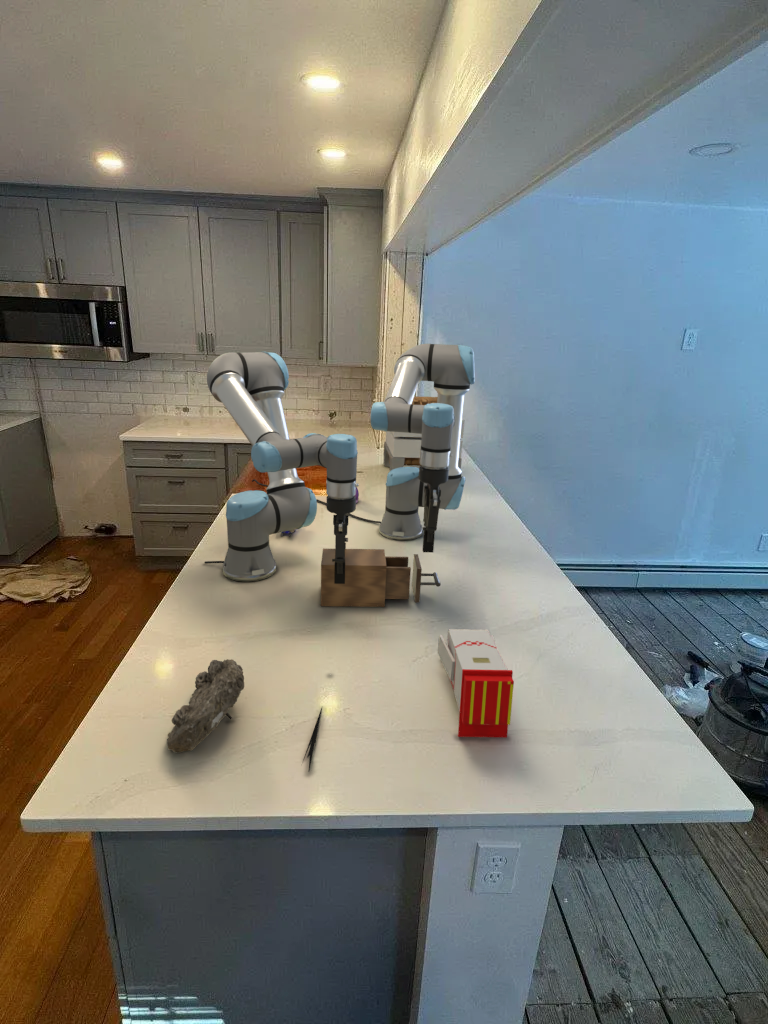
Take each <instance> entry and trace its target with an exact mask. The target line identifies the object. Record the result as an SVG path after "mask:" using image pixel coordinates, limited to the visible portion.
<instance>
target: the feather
mask: <svg viewBox="0 0 768 1024" xmlns="http://www.w3.org/2000/svg"><path fill="white" fill-rule="evenodd" d="M329 675H330V676H331V675H332V674H331V673H330V674H329ZM322 710H323V707H321V708H320V710H319V713H318V716H317V719H316V723H315V725H314V728H313V731H312V733H311V737H310V739H309V742H308V745H307V748H306V751H305V754H304V757H303V760H302V763H301V767H302V765H303V763H304V761H305V758H308V759H309V760H308V762H307V763H308V764H307V766H308V771H310V770H311V766H312V765H311V764H312V760H313V757H315V756H314V755H315V751H316V749H315V746H317V739H318V733H319V729H320V722H321V717H322V712H323V711H322ZM313 754H314V755H313ZM306 755H307V757H306Z"/></svg>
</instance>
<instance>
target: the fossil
mask: <svg viewBox="0 0 768 1024" xmlns="http://www.w3.org/2000/svg"><path fill="white" fill-rule="evenodd" d="M243 670H244V669H243V667H242V665H240V664H237V662H236V661H235V660H234V659H232V658H231V659H227V658H226V659H224V660H223V661H222V660H217V659H212V660H211V661H210V663H209V665H208V666H207V671H201V672H199V673H198V674H197V675H196V676H195V680H194V684H195V685H194V687H195V689H194V690H193V693H192V694H191V697H190V698H189V700H188V704H184V705H182V706H181V707H180V709H177V710H176V711H175V713H174V715H173V716H172V718H171V723H172V724H173V727H172V730H171V731H170V732H168V734H167V738H166V741H167V742H166V745H167V749H168V750H169V751H173V752H174V753H176V754H178V753H182V752H188V751H189V752H192V751H193V750H195V748H196V747H197V746H199V744H200V743H201V742H203V741H204V740H205V739H206V738H207V737H208V736H209V735H210V734H211V733H212V732H214V730H215V729H217V727H218V726H219V724H220V722H221V721H222V720H223V719H224V718H225V716H226V717H227V719H229V720H233V717H232V715H230V714H229V710H230V709H231V708H234V706H235V704H236V703H237V702H238V699H239V697H240V695H241V693H242V691H243V690H245V689H244V688H245V675H244V671H243Z"/></svg>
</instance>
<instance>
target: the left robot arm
mask: <svg viewBox="0 0 768 1024" xmlns="http://www.w3.org/2000/svg"><path fill="white" fill-rule="evenodd" d="M289 374H290V373H289V369H288V367H287V363H286V362H285V360H284V359H283V358H282V356H281V355H279V354H277V353H276V352H268V351H253V352H252V351H247V352H235V351H233V352H231V351H230V352H225V353H222V354H221V355H219V356H217V357H216V358H215V359H214V360H212V362H211V364H210V365H209V367H208V370H207V373H206V383H207V388H208V390H209V392H210V394H211V396H212V397H213V398H214V400H216V401H217V402H219V403H222V405H223V406H224V407H225V409H226V410H227V412H228V413H229V414H230V416H231V417H232V419H233V421H234V422H235V423H236V424H237V426H238V427H239V429H240V431H241V432H242V433H243V435H244V436H245V438H246V439H247V441H248V442H249V444H250V445H251V451H250V457H251V462H252V464H253V467H254V469H255V470H256V471H257V472H259V473H267V477H268V481H269V483H268V484H267V485H268V487H266V489H265V491H263V490H260V489H259V490H258V489H254V490H251V489H250V490H245V491H241V492H237V493H235V494H233V495H232V496H230V498H229V499H228V500H227V501H226V506H225V508H226V509H225V518H226V530H227V531H226V532H227V550H226V554H225V556H224V560H207V561H206V560H205V561H204V562H203V563H204V565H208V564H222V573H223V576H224V577H225V578H227V579H229V580H232V581H234V582H235V581H236V582H246V583H248V582H258V581H262V580H265V579H268V578H269V577H271V576H273V575H274V574H275V573H276V571H277V562H276V559H275V558H274V556H273V552H272V549H271V546H270V536H271V535H274V534H281V532H285V531H290V530H294V529H295V530H300V529H302V528H305V527H309V526H310V525H312V524H313V522H314V521H315V519H316V516H317V513H318V501H316V499H317V497H316V494H315V493H314V491H313V490H312V489H311V488H309V487H306V484H305V481H304V480H303V479H301V478H300V477H299V475H298V471H297V469H300V468H301V469H302V468H307V467H314V466H319V467H322V468H324V469H326V481H325V482H326V485H325V487H326V490H325V491H326V493H325V494H326V495H327V496H326V503H327V505H326V511H328V512H329V513H331V514H333V518H332V519H333V520H332V524H333V535H334V536H335V537H334V538H335V540H334V541H335V544H334V549H335V559H332V562H335V575H334V584H345V549H347V543H348V542H349V537H346V536H347V535H348V526H349V516H350V515H348V514H347V513H350V514H353V512H355V511H356V509H357V503H356V497H355V496H354V495H355V494H356V487H357V488H359V486H360V485H359V483H358V482H357V470H358V466H357V465H358V453H359V452H358V440H357V437H355V436H354V435H352V434H347V433H334V434H330V435H328V436H326V435H323V434H320V433H315V432H311V433H310V432H309V433H307V434H305V435H304V436H303V437H298V438H290V435H289V430H288V425H287V420H286V416H285V411H284V407H283V403H282V402H283V401H282V399H283V398H284V396H285V395H286V393H285V390H286V389H287V388H288V386H289V383H290V381H289V379H290V375H289Z"/></svg>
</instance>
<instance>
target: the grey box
mask: <svg viewBox="0 0 768 1024" xmlns="http://www.w3.org/2000/svg"><path fill="white" fill-rule="evenodd" d="M437 397H438V396H416V395H414V398H413V401H412V404H413V405H426V404H430V403H437ZM464 429H465V419H464V418H462V425H461V436H460V448H459V459H458V467H459V468H460V470H461V471H462V461H463V460H462V453H463V442H464V441H463V440H462V439H463V438H464V431H465V430H464ZM421 439H422V434H417V433H405V432H390V431H386V432H385V438H384V442H383V466H384V467H388V468H389V472H390V471H391V470H393V469H396V468H400V467H405V466H406V467H417V466H418V467H420V466H421V464H420V463H419V461H420V448H421Z"/></svg>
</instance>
